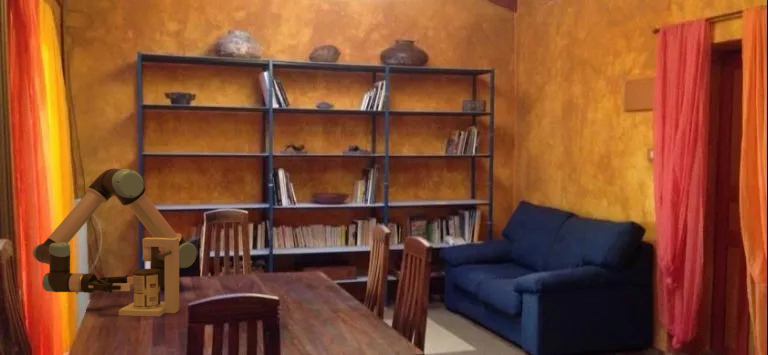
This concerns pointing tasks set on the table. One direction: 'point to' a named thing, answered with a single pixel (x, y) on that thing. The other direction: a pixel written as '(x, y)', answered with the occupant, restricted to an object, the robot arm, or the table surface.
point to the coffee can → (146, 288)
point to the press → (170, 277)
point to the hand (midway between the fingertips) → (136, 284)
